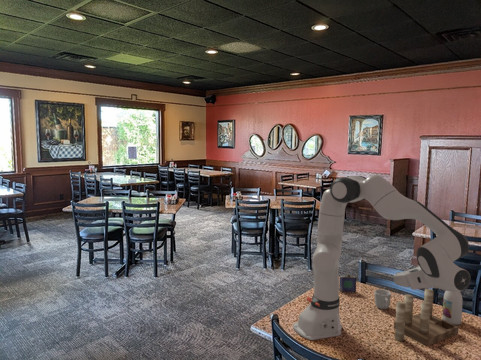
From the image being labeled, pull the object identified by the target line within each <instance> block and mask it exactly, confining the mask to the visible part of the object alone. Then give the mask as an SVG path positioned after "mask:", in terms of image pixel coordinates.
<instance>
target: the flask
mask: <svg viewBox="0 0 481 360" xmlns="http://www.w3.org/2000/svg"><path fill="white" fill-rule="evenodd" d="M352 292H353V293H355V294H356V293H357V276H355V275H350V273H349V272H347V273H346V275H340V276H339V293H352Z"/></svg>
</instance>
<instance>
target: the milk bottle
mask: <svg viewBox="0 0 481 360" xmlns="http://www.w3.org/2000/svg"><path fill="white" fill-rule="evenodd" d="M462 295H463V294H462V293H461V291H460V292H452V291H446V290H444V294H443V300H442V301H443V302H442V316H441V317H442V318H441V319H442V320H444V321H447V322H449V323H451V324H453V325H455V326H458V325H459V326H460V325H461V324H462V318H463V317H462V316H463V296H462Z"/></svg>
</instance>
